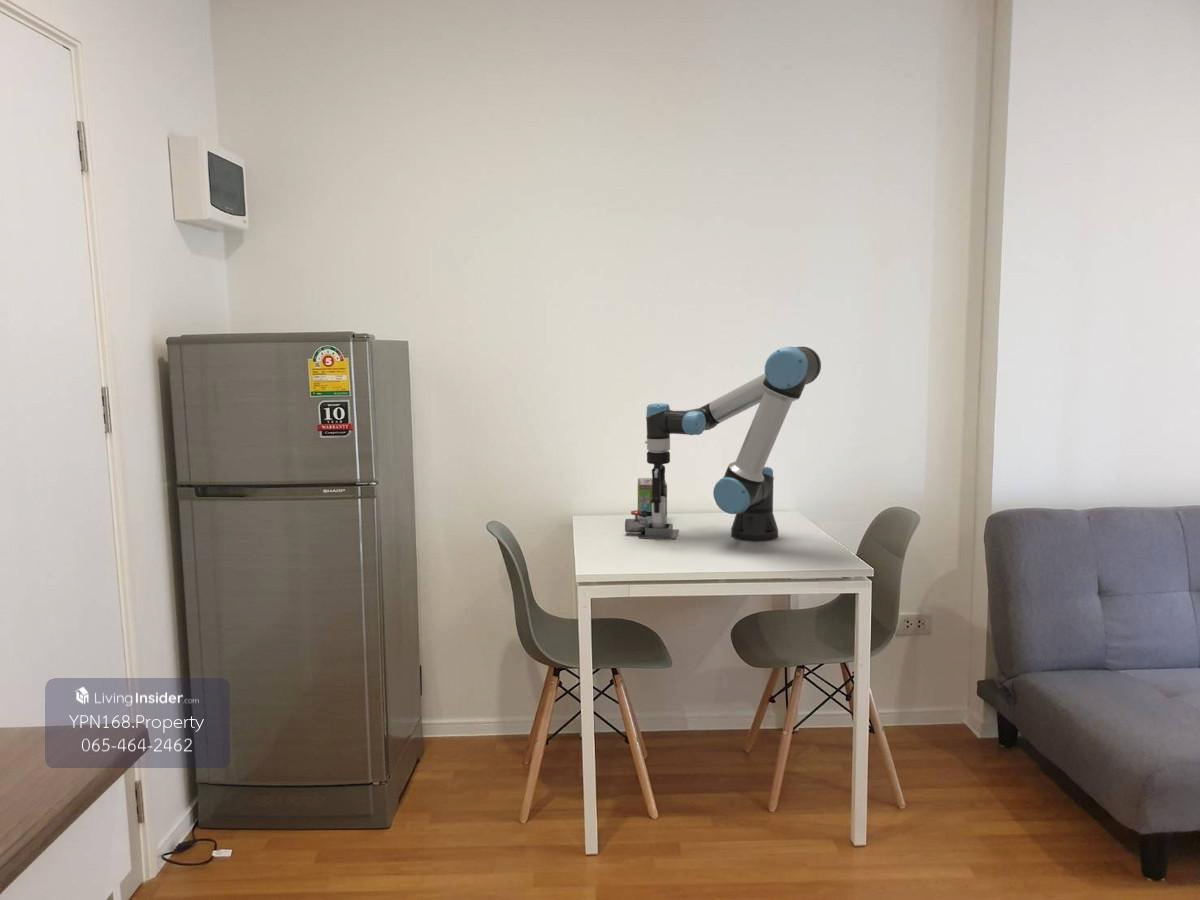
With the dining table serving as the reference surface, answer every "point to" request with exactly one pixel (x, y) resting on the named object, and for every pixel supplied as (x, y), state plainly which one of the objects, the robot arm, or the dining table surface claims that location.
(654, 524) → the pipe
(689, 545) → the dining table surface
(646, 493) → the tea box
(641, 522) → the grey knobbed block
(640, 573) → the dining table surface
